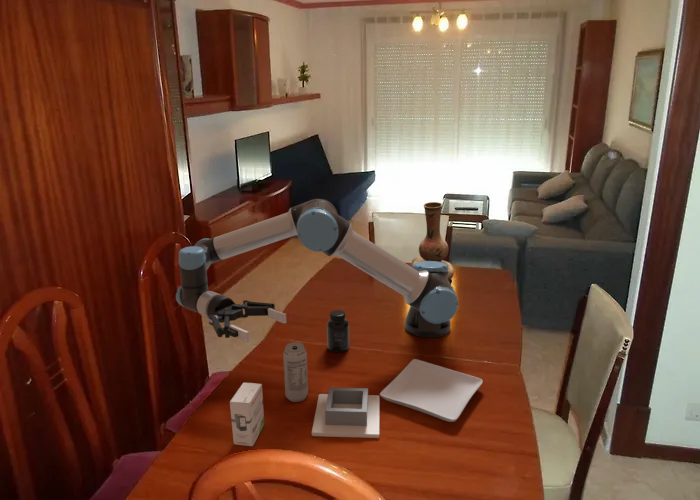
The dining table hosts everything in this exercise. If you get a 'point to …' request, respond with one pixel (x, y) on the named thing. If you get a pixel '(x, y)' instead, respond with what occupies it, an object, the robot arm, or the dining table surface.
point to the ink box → (247, 414)
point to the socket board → (347, 414)
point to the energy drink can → (295, 371)
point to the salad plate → (432, 390)
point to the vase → (434, 239)
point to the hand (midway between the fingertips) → (267, 327)
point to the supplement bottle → (338, 331)
